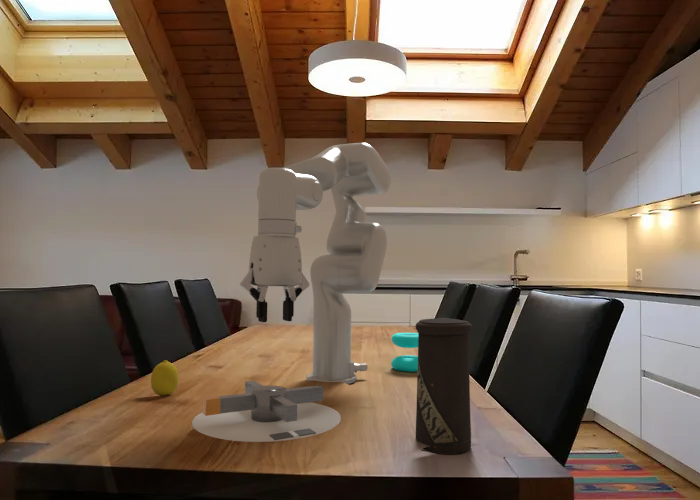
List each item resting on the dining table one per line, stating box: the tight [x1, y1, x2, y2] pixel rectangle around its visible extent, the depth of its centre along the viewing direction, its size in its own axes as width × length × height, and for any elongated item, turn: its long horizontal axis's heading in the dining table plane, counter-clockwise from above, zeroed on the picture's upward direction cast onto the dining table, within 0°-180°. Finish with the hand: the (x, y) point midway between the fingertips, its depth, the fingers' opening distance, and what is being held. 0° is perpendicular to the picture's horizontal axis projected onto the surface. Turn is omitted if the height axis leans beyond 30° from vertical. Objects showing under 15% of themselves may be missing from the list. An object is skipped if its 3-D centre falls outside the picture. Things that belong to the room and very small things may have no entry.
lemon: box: [150, 359, 180, 397], centre depth 107 cm, size 6×6×8 cm
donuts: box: [390, 332, 418, 373], centre depth 144 cm, size 10×10×10 cm
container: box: [415, 317, 473, 455], centre depth 80 cm, size 9×9×20 cm
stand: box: [191, 402, 342, 443], centre depth 90 cm, size 26×26×1 cm
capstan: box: [201, 380, 324, 422], centre depth 90 cm, size 22×21×5 cm
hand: (275, 320), depth 101 cm, fingers open, 4 cm apart
